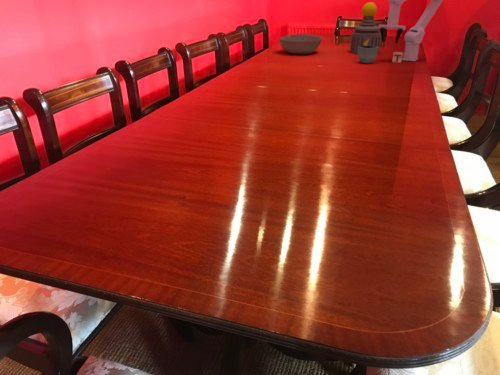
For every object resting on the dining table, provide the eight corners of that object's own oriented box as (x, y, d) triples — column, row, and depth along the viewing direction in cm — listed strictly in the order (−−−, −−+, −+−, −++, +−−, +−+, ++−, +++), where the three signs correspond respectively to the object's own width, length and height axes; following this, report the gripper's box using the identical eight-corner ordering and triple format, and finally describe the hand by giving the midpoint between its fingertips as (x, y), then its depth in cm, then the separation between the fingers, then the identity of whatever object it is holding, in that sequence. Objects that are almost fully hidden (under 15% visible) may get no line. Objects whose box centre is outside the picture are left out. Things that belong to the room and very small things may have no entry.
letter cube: (392, 60, 233) (393, 52, 231) (401, 61, 232) (402, 52, 229) (392, 62, 229) (393, 53, 226) (401, 62, 227) (402, 53, 225)
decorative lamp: (380, 55, 249) (388, 3, 235) (350, 54, 252) (356, 3, 238) (377, 50, 266) (383, 1, 252) (348, 49, 268) (353, 1, 254)
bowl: (299, 48, 278) (300, 33, 273) (329, 52, 259) (331, 36, 254) (270, 52, 262) (270, 36, 258) (300, 58, 244) (301, 41, 239)
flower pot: (364, 64, 223) (366, 48, 219) (355, 62, 230) (357, 46, 226) (377, 63, 226) (379, 47, 222) (367, 60, 233) (369, 44, 229)
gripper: (378, 16, 220) (374, 42, 227) (404, 18, 213) (400, 44, 220) (382, 16, 226) (378, 41, 232) (408, 17, 218) (403, 43, 225)
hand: (389, 42), depth 226 cm, fingers open, 7 cm apart
